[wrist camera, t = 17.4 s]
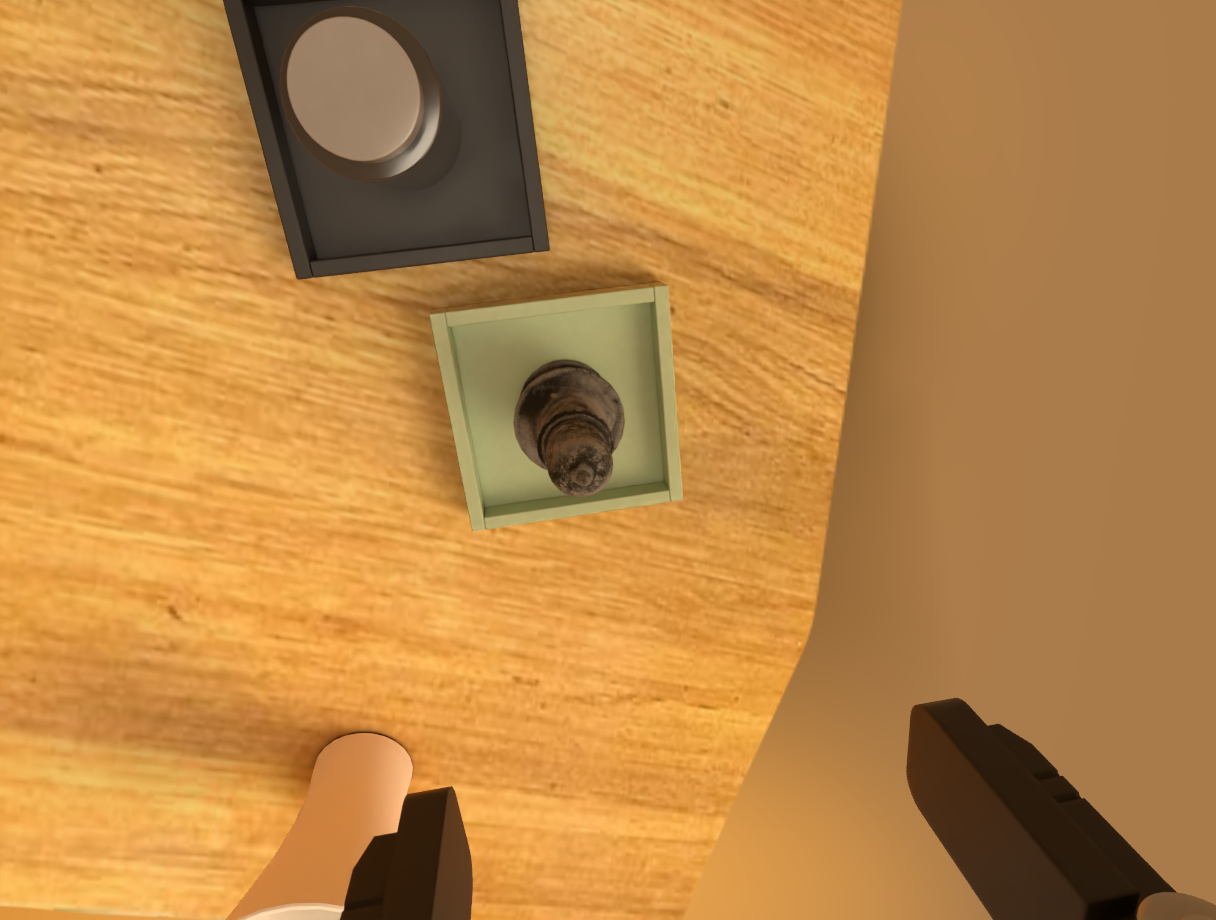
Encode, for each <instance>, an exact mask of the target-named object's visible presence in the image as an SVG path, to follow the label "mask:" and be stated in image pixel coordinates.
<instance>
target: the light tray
mask: <svg viewBox="0 0 1216 920" xmlns="http://www.w3.org/2000/svg"><path fill="white" fill-rule="evenodd" d="M429 317H430V322H431V327H432V332H433V337H434V342H435V347H436V352H437V357H438V362H439V367H440V372H441V377H442V382H443V387H444V392H445V397H446V402H447V407H448V412H449V417H450V422H451V427H452V432H453V437H454V442H455V447H456V452H457V458H458V463H459V468H460V473H461V478H462V483H463V488H464V493H465V498H466V503H467V508H468V513H469V518H470V523H471V528H472V531H480V530H485V529H493V528H500V527H506V526H513V525H520V524H526V523H533V522H540V521H546V520H553V519H560V518H566V517H573V516H580V515H586V514H593V513H600V512H606V511H613V510H619V509H626V508H633V507H639V506H646V505H653V504H659V503H666V502H670V501H671V502H673V501H679V500H683V491H682V477H681V462H680V448H679V433H678V419H677V405H676V390H675V376H674V361H673V347H672V333H671V318H670V304H669V289H668V285H666V284H664V283H662V282H652V283H644V284H636V285H628V286H619V287H611V288H603V289H595V290H586V291H578V292H570V293H562V294H553V295H545V296H537V297H529V298H520V299H512V300H504V301H496V302H487V303H479V304H471V305H463V306H454V307H446V308H438V309H434V310H433V311H432V312H431V313H430V314H429ZM565 359H566V360H574V361H579V362H581V363H584V364H586V365H588V366H590V367H591V368H593V369H594V370H595V371H596V372H598V373H599V375H600V376H601V377H602V378H604V379H605V380H606V381H607V382H609V383H610V384H611V386H612V387H613V388H614V390H615V391H616V392H617V394H618V395H619V398H620V400H621V403H622V405H623V408H624V417H625V425H624V430H623V436H622V438H621V440H620V442H619V444H618V447H617V449H616V450H615V451H614V452H613V453H612V457H613V465H614V466H613V471H612V476H611V478H610V480H609V482H608V483H607V485H606V486H605V487H604V488H603V489H602V490H600V491H599V492H597V493H595V494H593V495H590V496H586V497H573V496H570V495H567V494H565V493H563V492H562V491H560V490H559V489H558V488H557V487H556V486H555V485H554V484H553V483H552V481H551V479H550V477H549V474H548V470H545V469H543V468H541V467H539V466H538V465H536V464H535V463H534V462H532V461H531V460H530V459H529V458H528V457H527V456H526V454H525V453H524V452H523V451H522V450H521V448H520V445H519V443H518V441H517V439H516V437H515V430H514V424H513V421H514V412H515V407H516V405H517V402H518V400H519V397H520V393H521V391H522V389H523V386H524V384H525V382H526V381H527V379H528V378H529V377H530V375H531V374H532V373H533V372H534V371H536V370H537V369H538V368H540V367H541V366H542V365H545V364H547V363H550V362H552V361H557V360H565Z"/></svg>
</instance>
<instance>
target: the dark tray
mask: <svg viewBox="0 0 1216 920" xmlns="http://www.w3.org/2000/svg"><path fill="white" fill-rule="evenodd" d="M223 3H224V7H225V10H226V14H227V18H228V22H229V25H230V29H231V33H232V37H233V40H234V44H235V48H236V52H237V56H238V59H239V63H240V67H241V71H242V74H243V78H244V82H245V86H246V90H247V93H248V97H249V101H250V105H251V108H252V112H253V116H254V120H255V124H256V127H257V131H258V135H259V139H260V142H261V146H262V150H263V154H264V157H265V161H266V165H267V169H268V173H269V176H270V180H271V184H272V188H273V191H274V195H275V199H276V203H277V207H278V210H279V214H280V218H281V222H282V225H283V229H284V233H285V237H286V241H287V244H288V248H289V252H290V256H291V259H292V263H293V267H294V271H295V275H296V278H297V279H308V278H313V277H315V278H316V277H325V276H333V275H342V274H351V273H359V272H368V271H377V270H385V269H394V268H403V267H411V266H420V265H429V264H437V263H446V262H454V261H463V260H472V259H480V258H489V257H498V256H506V255H515V254H524V253H532V252H541V251H549V250H550V248H549V240H548V232H547V224H546V217H545V209H544V201H543V194H542V186H541V178H540V170H539V163H538V155H537V147H536V140H535V132H534V124H533V116H532V109H531V101H530V93H529V85H528V78H527V70H526V62H525V55H524V47H523V39H522V31H521V24H520V16H519V8H518V1H517V0H223ZM343 6H355V7H363V8H367V9H371V10H374V11H377V12H380V13H382V14H384V15H386V16H388V17H390V18H391V19H393V20H395V21H396V22H398V23H399V24H400V25H402V26H403V27H404V28H406V29H407V30H408V31H409V32H410V33H411V34H412V35H413V36H414V37H415V38H416V40H417V41H418V42H419V43H420V45H421V46H422V47H423V49H424V50H425V52H426V54H427V55H428V57H429V59H430V60H431V62H432V64H433V66H434V68H435V69H436V71H437V73H438V75H439V77H440V79H441V80H442V82H443V84H444V86H445V88H446V90H447V91H448V93H449V95H450V97H451V99H452V101H453V103H454V105H455V107H456V109H457V112H458V115H459V119H460V124H461V146H460V151H459V154H458V157H457V160H456V162H455V164H454V166H453V167H452V169H451V170H450V172H449V173H448V174H447V175H446V176H445V177H444V178H443V179H442V180H441V181H439V182H438V183H437V184H435V185H433V186H431V187H429V188H426V189H423V190H419V191H399V190H395V189H391V188H387V187H383V186H379V185H375V184H371V183H367V182H363V181H360V180H356V179H352V178H348V177H346V176H343V175H340V174H338V173H336V172H334V171H333V170H331V169H329V168H328V167H326V166H325V165H323V164H322V163H320V162H319V161H318V160H317V159H316V158H314V157H313V156H312V155H311V154H310V153H309V152H308V151H307V149H306V148H305V147H304V146H303V145H302V143H301V142H300V141H299V139H298V138H297V136H296V135H295V133H294V131H293V129H292V128H291V126H290V123H289V121H288V119H287V117H286V114H285V110H284V107H283V103H282V98H281V91H280V70H281V65H282V60H283V56H284V54H285V51H286V48H287V46H288V44H289V42H290V40H291V38H292V37H293V35H294V34H295V33H296V31H297V30H298V29H299V28H300V27H301V26H302V25H303V24H304V23H305V22H306V21H307V20H309V19H310V18H311V17H313V16H315V15H317V14H318V13H320V12H322V11H325V10H328V9H331V8H336V7H343Z"/></svg>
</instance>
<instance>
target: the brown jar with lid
mask: <svg viewBox="0 0 1216 920" xmlns="http://www.w3.org/2000/svg"><path fill="white" fill-rule="evenodd" d="M280 91H281V98H282V103H283V107H284V110H285V114H286V117H287V119H288V121H289V123H290V126H291V128H292V129H293V131H294V133H295V135H296V136H297V138H298V139H299V141H300V142H301V143H302V145H303V146H304V147H305V148H306V149H307V151H308V152H309V153H310V154H311V155H312V156H313V157H314V158H316V159H317V160H318V161H319V162H320V163H322V164H323V165H325V166H326V167H328V168H329V169H331V170H333V171H334V172H336V173H338V174H340V175H343V176H346V177H348V178H352V179H356V180H360V181H363V182H367V183H371V184H375V185H379V186H383V187H387V188H391V189H395V190H399V191H419V190H423V189H426V188H429V187H431V186H433V185H435V184H437V183H438V182H439V181H441V180H442V179H443V178H444V177H445V176H446V175H447V174H448V173H449V172H450V170H451V169H452V167H453V166H454V164H455V162H456V160H457V157H458V154H459V151H460V146H461V124H460V119H459V115H458V112H457V109H456V107H455V105H454V103H453V101H452V99H451V97H450V95H449V93H448V91H447V90H446V88H445V86H444V84H443V82H442V80H441V79H440V77H439V75H438V73H437V71H436V69H435V68H434V66H433V64H432V62H431V60H430V59H429V57H428V55H427V54H426V52H425V50H424V49H423V47H422V46H421V45H420V43H419V42H418V41H417V40H416V38H415V37H414V36H413V35H412V34H411V33H410V32H409V31H408V30H407V29H406V28H404V27H403V26H402V25H400V24H399V23H398V22H396V21H395V20H393V19H391V18H390V17H388V16H386V15H384V14H382V13H380V12H377V11H374V10H371V9H367V8H363V7H355V6H343V7H336V8H331V9H328V10H325V11H322V12H320V13H318V14H317V15H315V16H313V17H311V18H310V19H309V20H307V21H306V22H305V23H304V24H303V25H302V26H301V27H300V28H299V29H298V30H297V31H296V33H295V34H294V35H293V37H292V38H291V40H290V42H289V44H288V46H287V48H286V51H285V54H284V56H283V60H282V65H281V70H280Z"/></svg>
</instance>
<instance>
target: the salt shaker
mask: <svg viewBox="0 0 1216 920" xmlns="http://www.w3.org/2000/svg"><path fill="white" fill-rule="evenodd" d="M513 424H514V430H515V437H516V439H517V441H518V443H519V445H520V448H521V450H522V451H523V452H524V453H525V454H526V456H527V457H528V458H529V459H530V460H531V461H532V462H534V463H535V464H536V465H538V466H539V467H541V468H543V469H545V470H548V474H549V477H550V479H551V481H552V483H553V484H554V485H555V486H556V487H557V488H558V489H559V490H560V491H562V492H563V493H565V494H567V495H570V496H573V497H586V496H590V495H593V494H595V493H597V492H599V491H600V490H602V489H603V488H604V487H605V486H606V485H607V483H608V482H609V480H610V478H611V476H612V471H613V466H614V465H613V457H612V453H613V452H614V451H615V450H616V449H617V447H618V444H619V442H620V440H621V438H622V436H623V430H624V425H625V417H624V408H623V405H622V403H621V400H620V398H619V395H618V394H617V392H616V391H615V390H614V388H613V387H612V386H611V384H610V383H609V382H607V381H606V380H605V379H604V378H602V377H601V376H600V375H599V373H598V372H596V371H595V370H594V369H593V368H591V367H590V366H588V365H586V364H584V363H581V362H579V361H574V360H566V359H565V360H557V361H552V362H550V363H547V364H545V365H542V366H541V367H540V368H538V369H537V370H536V371H534V372H533V373H532V374H531V375H530V377H529V378H528V379H527V381H526V382H525V384H524V386H523V389H522V391H521V393H520V397H519V400H518V402H517V405H516V407H515V412H514V421H513Z"/></svg>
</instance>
